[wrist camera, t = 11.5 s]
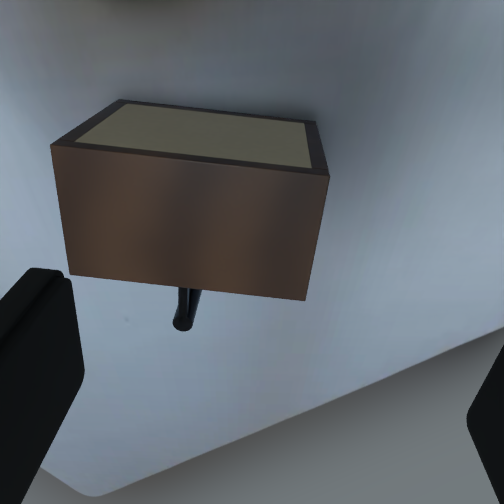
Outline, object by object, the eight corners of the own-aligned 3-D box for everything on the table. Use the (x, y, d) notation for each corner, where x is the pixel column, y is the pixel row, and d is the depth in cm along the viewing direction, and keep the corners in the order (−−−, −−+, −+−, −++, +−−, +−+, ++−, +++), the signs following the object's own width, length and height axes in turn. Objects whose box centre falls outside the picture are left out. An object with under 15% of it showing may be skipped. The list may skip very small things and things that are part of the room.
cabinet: (316, 121, 35) (330, 176, 24) (299, 220, 39) (305, 301, 29) (118, 99, 35) (49, 144, 24) (124, 201, 39) (69, 275, 29)
